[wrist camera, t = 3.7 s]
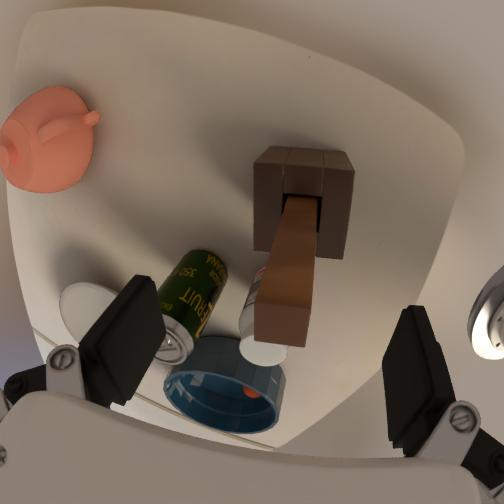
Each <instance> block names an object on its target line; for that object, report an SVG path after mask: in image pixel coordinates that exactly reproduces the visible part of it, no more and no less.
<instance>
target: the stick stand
mask: <svg viewBox="0 0 504 504" xmlns="http://www.w3.org/2000/svg"><path fill="white" fill-rule="evenodd" d="M354 175H355V171H354V168H353V166H352V164H351V162H350V160H349V158H348V156H347V154H346V152H340V151H330V150H320V149H308V148H295V147H293V148H292V147H278V146H270V147H269V148H268V149H267V150H266V151H265V152H264V153H263V154H262V155H261V156H260V157H259V158H258V159H257V160H256V161H255V162H254V251H264V252H271V248H272V245H273V242H274V239H275V236H276V233H277V230H278V226H279V223H280V220H281V217H282V214H283V211H284V207H285V204H286V201H287V198H288V195H289V194H300V195H311V196H319V200H317V222H316V245H315V256H316V257H321V258H331V259H341V260H342V259H343V255H344V249H345V243H346V236H347V230H348V223H349V216H350V208H351V201H352V193H353V184H354Z"/></svg>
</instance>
